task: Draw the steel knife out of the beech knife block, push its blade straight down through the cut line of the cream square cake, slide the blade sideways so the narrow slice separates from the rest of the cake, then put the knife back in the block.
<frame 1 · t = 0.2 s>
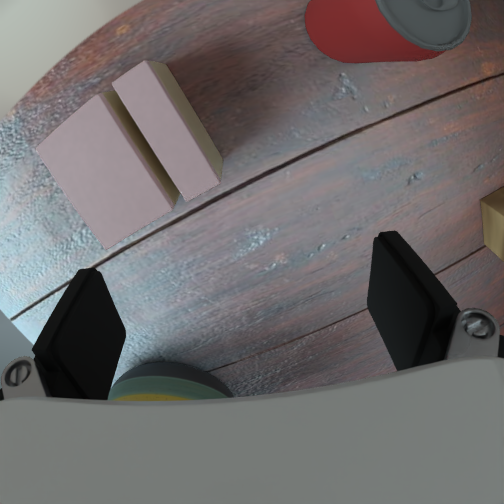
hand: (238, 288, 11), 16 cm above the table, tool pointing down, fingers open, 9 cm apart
beer can: (343, 25, 19), on the table
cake: (126, 154, 24), on the table
knife block: (502, 210, 28), on the table
vase: (176, 388, 39), on the table
cake slice: (180, 119, 23), on the table
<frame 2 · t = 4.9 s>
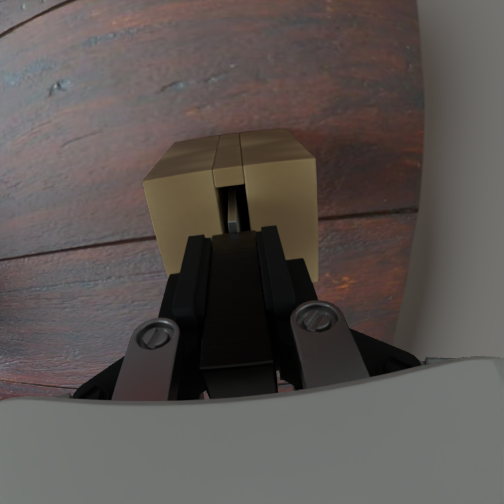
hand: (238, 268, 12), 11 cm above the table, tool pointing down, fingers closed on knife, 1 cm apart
knife block: (235, 178, 21), on the table
knife: (237, 235, 14), in the knife block, touching gripper
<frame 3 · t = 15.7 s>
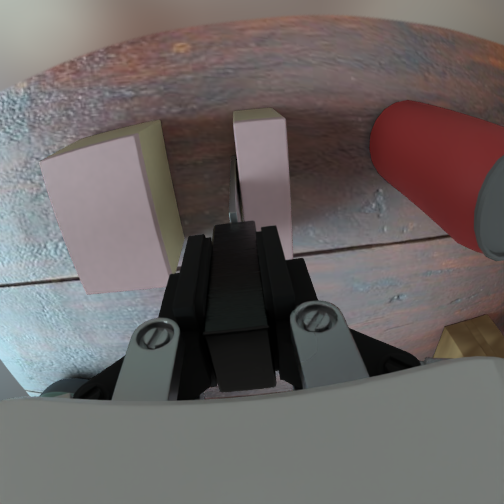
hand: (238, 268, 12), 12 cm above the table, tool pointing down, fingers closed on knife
beer can: (404, 142, 21), on the table
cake: (132, 189, 22), on the table
knife block: (459, 337, 33), on the table
vase: (104, 403, 35), on the table
knife: (237, 227, 15), on the table, touching gripper
cake slice: (258, 173, 22), on the table
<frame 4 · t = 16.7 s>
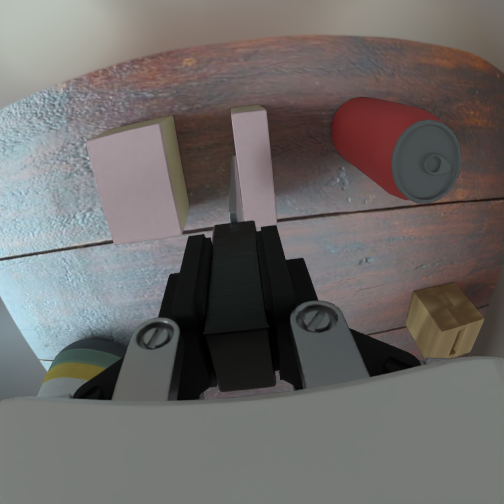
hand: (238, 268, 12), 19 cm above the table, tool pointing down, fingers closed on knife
beer can: (360, 129, 28), on the table
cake: (150, 168, 28), on the table
knife block: (430, 303, 39), on the table
vase: (113, 366, 42), on the table
knife: (237, 227, 15), point 16 cm above the table, touching gripper
cake slice: (250, 154, 28), on the table
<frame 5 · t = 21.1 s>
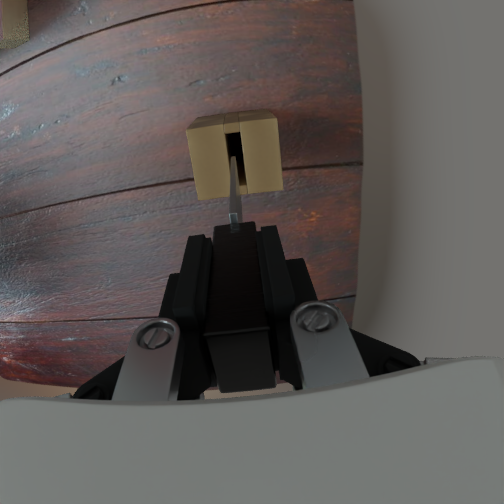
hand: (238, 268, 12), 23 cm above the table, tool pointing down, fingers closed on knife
knife block: (235, 140, 31), on the table
knife: (237, 228, 15), point 20 cm above the table, touching gripper
cake slice: (19, 12, 21), on the table
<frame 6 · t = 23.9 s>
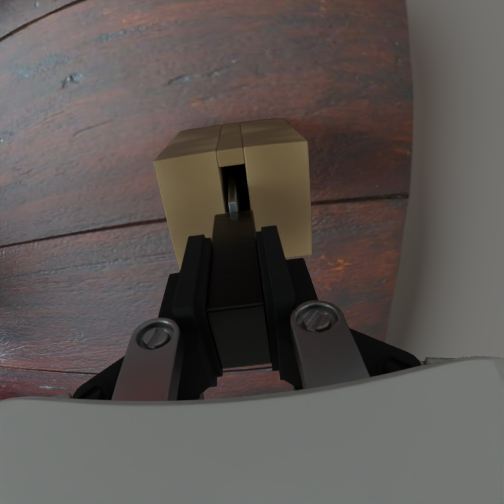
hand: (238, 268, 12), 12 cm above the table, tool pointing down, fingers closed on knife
knife block: (236, 164, 22), on the table
knife: (237, 217, 15), in the knife block, touching gripper
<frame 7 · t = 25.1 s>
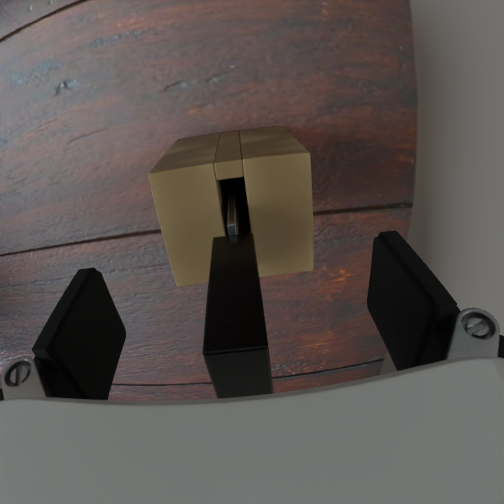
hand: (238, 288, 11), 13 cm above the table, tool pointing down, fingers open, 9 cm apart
knife block: (235, 174, 22), on the table
knife: (236, 237, 15), in the knife block
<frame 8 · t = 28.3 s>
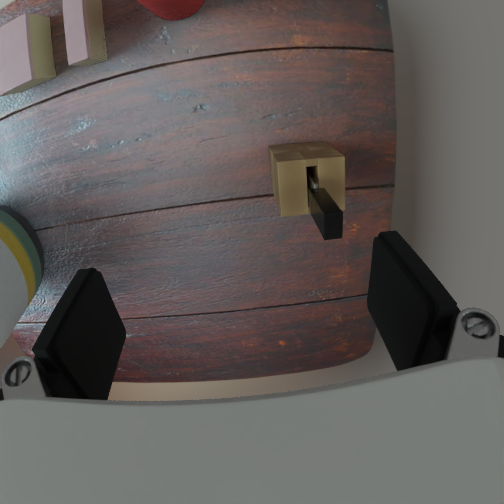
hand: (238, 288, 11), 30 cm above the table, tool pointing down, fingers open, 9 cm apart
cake: (34, 54, 28), on the table
knife block: (298, 166, 39), on the table
vase: (13, 242, 42), on the table
knife: (312, 192, 33), in the knife block
cake slice: (95, 30, 28), on the table
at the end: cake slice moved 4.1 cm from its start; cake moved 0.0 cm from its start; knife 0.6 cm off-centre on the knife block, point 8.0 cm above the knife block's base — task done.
